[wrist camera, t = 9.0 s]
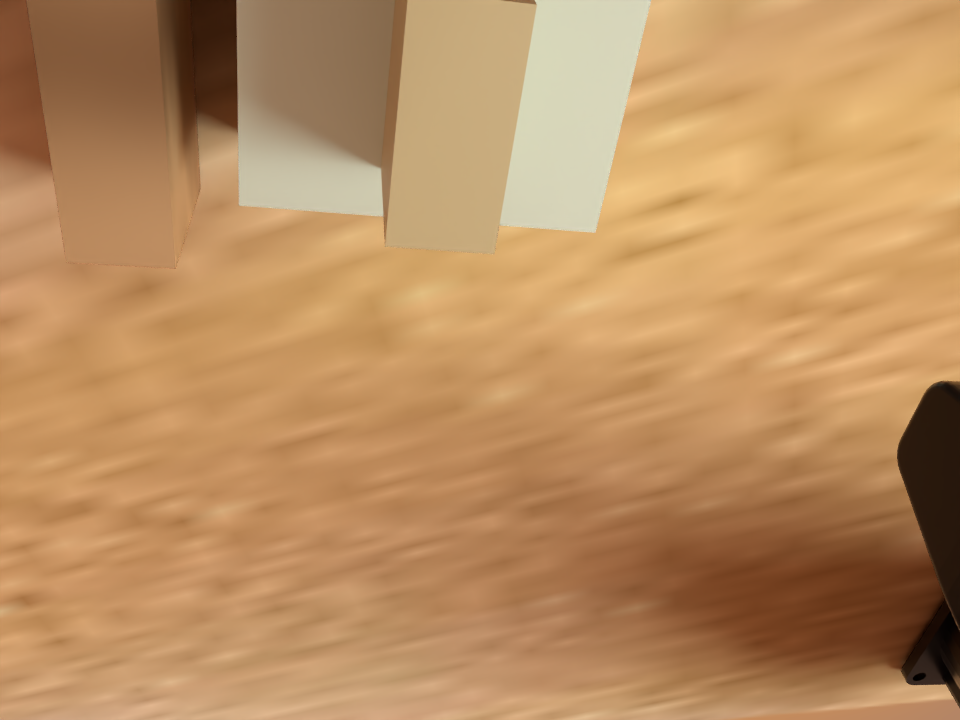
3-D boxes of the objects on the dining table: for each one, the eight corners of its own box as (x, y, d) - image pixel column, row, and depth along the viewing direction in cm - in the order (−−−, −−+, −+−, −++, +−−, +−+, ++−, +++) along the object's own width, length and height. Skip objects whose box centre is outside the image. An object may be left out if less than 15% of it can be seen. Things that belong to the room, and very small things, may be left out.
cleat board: (999, 242, 24) (1114, 342, 20) (106, 182, 20) (52, 290, 17) (1230, -207, 18) (1449, -179, 14) (38, -400, 14) (-68, -429, 11)
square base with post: (563, 160, 21) (631, 313, 16) (255, 133, 20) (220, 289, 15) (623, -127, 18) (732, -48, 13) (254, -180, 17) (209, -118, 12)
